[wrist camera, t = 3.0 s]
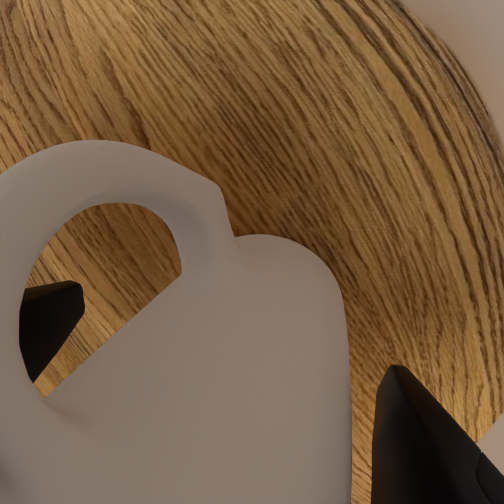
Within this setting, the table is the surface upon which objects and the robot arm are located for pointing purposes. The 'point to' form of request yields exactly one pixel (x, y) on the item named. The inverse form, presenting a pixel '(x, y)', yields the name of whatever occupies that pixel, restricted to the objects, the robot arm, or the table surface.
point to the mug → (176, 354)
